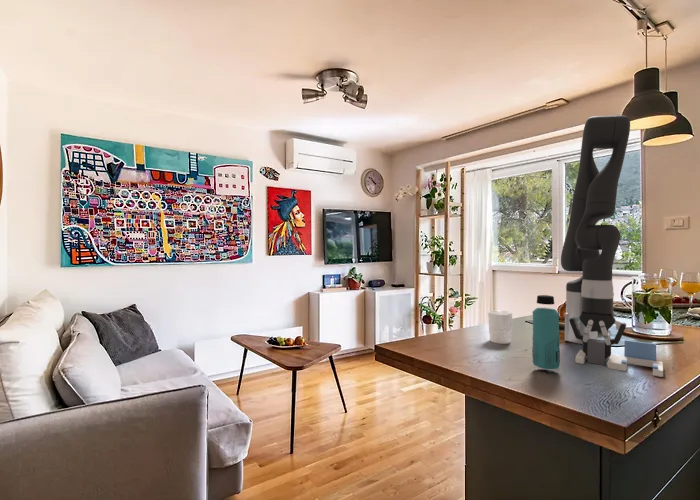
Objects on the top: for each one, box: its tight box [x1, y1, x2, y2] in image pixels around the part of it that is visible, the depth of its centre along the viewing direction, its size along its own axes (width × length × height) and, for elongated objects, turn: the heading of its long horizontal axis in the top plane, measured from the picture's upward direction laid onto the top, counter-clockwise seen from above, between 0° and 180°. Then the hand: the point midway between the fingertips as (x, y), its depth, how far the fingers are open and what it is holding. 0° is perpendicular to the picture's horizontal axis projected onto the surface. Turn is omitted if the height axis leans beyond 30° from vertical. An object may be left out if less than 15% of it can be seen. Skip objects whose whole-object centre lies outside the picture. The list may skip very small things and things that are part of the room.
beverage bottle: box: [531, 294, 561, 370], centre depth 98 cm, size 6×7×20 cm
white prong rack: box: [574, 339, 664, 378], centre depth 103 cm, size 19×10×6 cm, turn 51°
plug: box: [586, 338, 607, 366], centre depth 106 cm, size 4×4×6 cm
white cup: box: [487, 310, 513, 345], centre depth 129 cm, size 8×8×10 cm
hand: (596, 355), depth 106 cm, fingers closed on plug, 4 cm apart
